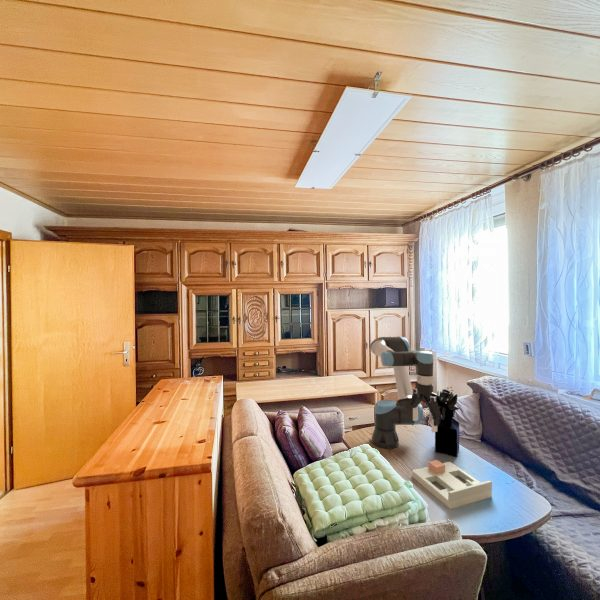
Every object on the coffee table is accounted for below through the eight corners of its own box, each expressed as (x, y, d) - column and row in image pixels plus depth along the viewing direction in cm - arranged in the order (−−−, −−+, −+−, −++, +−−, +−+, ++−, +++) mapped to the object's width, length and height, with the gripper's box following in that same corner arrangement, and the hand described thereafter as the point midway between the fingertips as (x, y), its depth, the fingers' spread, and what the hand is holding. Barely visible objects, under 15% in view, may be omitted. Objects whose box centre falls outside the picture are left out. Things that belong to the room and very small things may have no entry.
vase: (428, 451, 168) (428, 387, 167) (432, 442, 177) (432, 381, 176) (458, 458, 160) (458, 391, 159) (460, 449, 170) (460, 385, 169)
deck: (412, 476, 145) (412, 462, 145) (449, 467, 152) (449, 454, 152) (450, 509, 124) (450, 493, 123) (491, 496, 131) (491, 481, 130)
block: (428, 467, 147) (428, 461, 147) (437, 465, 149) (437, 459, 149) (436, 473, 142) (436, 467, 142) (444, 471, 144) (444, 465, 144)
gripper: (402, 377, 163) (402, 417, 163) (437, 391, 139) (437, 438, 140) (414, 375, 165) (413, 415, 166) (450, 389, 142) (450, 435, 143)
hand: (424, 425), depth 153 cm, fingers open, 12 cm apart
